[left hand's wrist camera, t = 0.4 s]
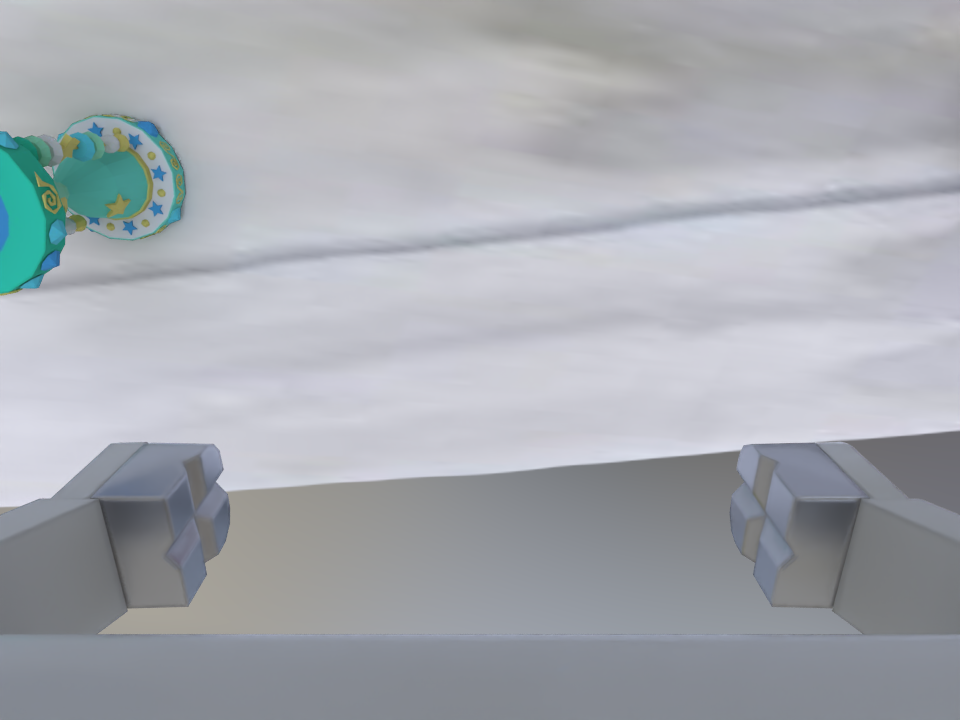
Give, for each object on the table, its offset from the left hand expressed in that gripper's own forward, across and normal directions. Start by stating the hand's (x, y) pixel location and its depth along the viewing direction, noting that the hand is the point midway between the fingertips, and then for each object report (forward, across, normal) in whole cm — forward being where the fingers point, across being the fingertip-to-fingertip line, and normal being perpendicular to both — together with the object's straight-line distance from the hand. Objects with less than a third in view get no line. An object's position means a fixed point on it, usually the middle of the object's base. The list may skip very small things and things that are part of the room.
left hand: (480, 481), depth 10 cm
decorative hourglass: (+48, +30, 0) cm, 56 cm away
